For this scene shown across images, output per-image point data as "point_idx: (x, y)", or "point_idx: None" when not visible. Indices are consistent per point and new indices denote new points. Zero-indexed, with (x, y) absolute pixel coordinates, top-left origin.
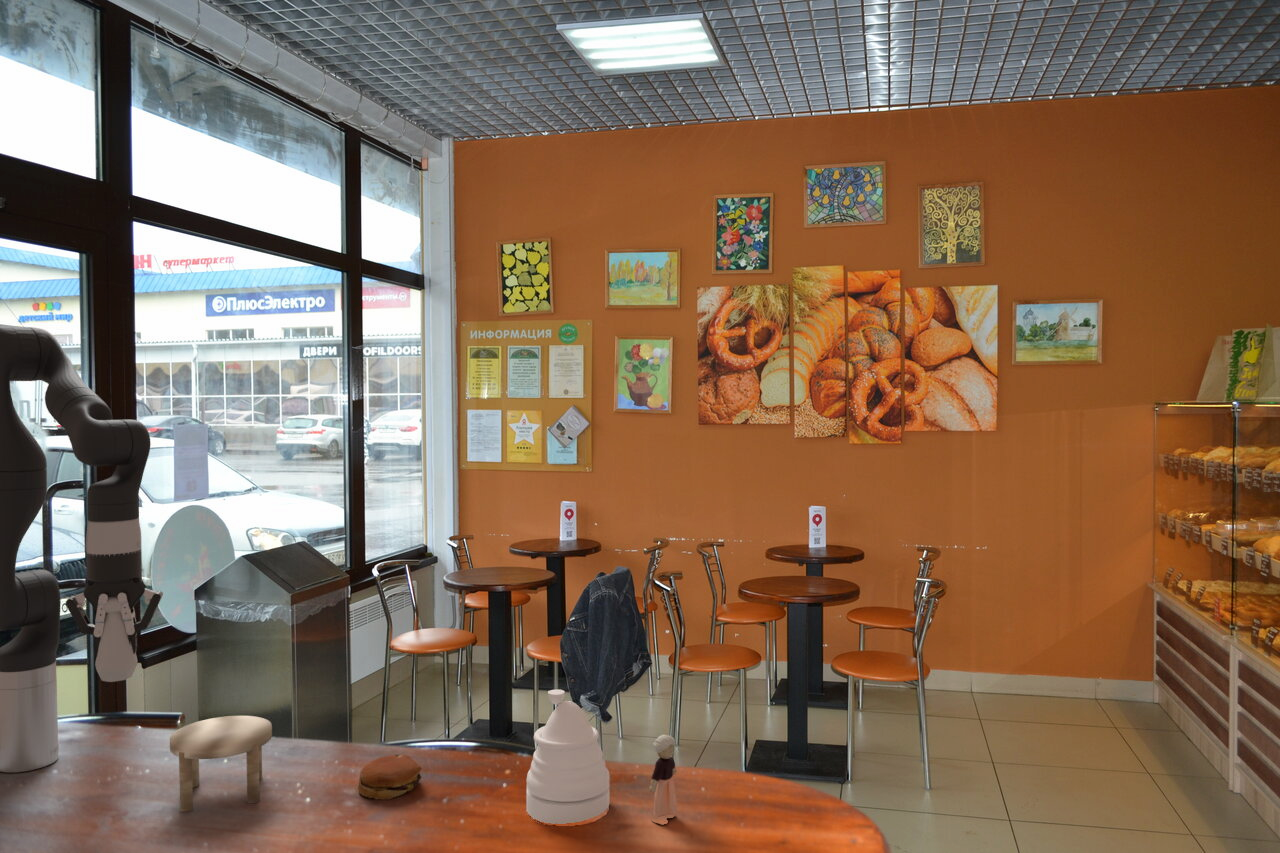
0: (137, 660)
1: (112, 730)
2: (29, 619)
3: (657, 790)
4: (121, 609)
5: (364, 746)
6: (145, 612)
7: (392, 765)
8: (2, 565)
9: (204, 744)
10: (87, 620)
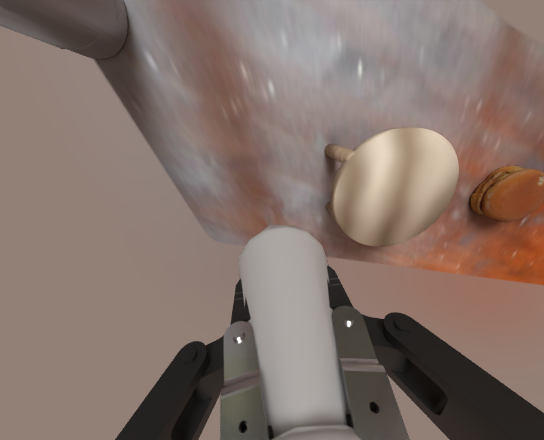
0: (327, 261)
1: None
2: None
3: None
4: None
5: (529, 52)
6: (442, 429)
7: (523, 210)
8: None
9: (375, 234)
10: (184, 396)
